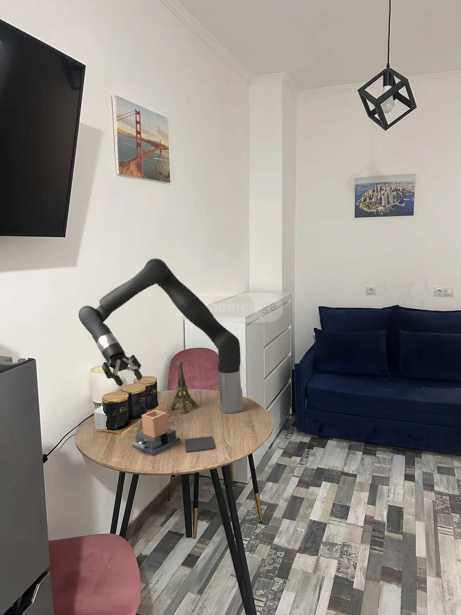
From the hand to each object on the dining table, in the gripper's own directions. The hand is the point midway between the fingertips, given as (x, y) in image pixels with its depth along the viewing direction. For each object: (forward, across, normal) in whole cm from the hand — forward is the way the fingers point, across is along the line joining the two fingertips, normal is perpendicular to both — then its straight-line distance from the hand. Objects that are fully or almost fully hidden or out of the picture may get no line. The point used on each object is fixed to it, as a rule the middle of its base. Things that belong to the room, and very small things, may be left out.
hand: (131, 382), depth 168 cm
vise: (+24, 0, +7) cm, 24 cm away
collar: (+20, 0, +4) cm, 21 cm away
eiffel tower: (+10, +31, +20) cm, 38 cm away
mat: (+33, +9, -3) cm, 34 cm away
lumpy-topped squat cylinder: (+2, +3, +28) cm, 29 cm away
